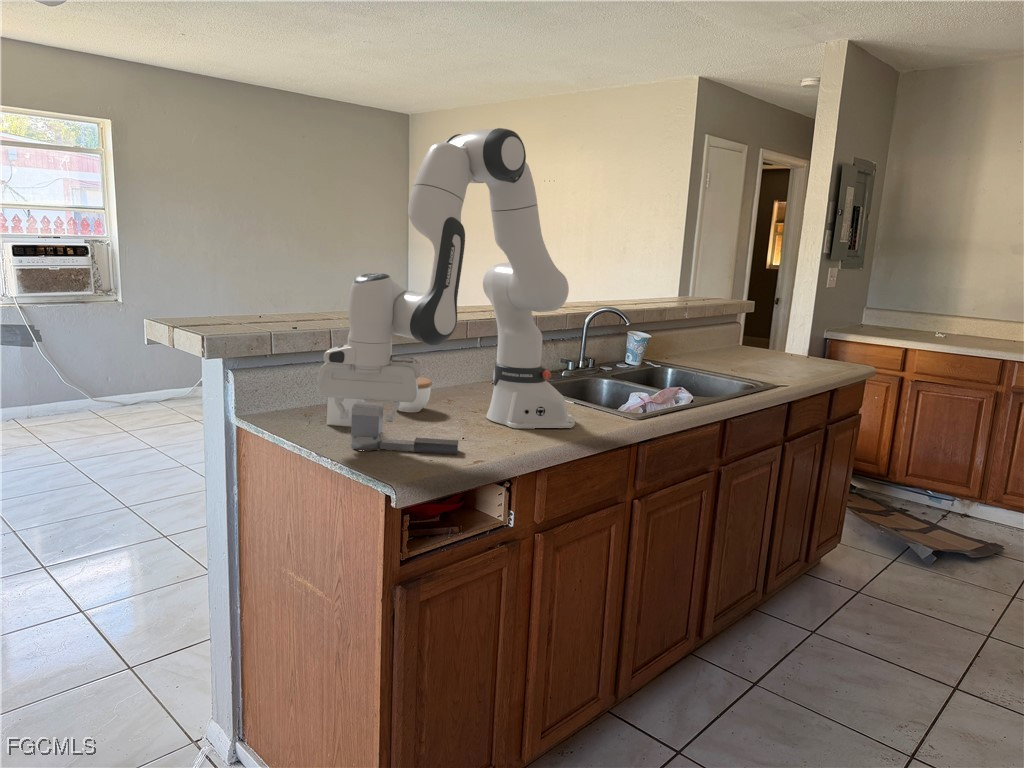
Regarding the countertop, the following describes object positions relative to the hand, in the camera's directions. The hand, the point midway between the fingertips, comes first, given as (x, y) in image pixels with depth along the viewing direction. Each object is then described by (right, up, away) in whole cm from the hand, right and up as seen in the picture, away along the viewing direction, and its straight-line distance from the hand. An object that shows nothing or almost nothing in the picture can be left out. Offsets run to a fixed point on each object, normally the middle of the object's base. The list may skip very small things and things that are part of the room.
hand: (367, 420), depth 142 cm
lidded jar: (+3, +1, +35) cm, 35 cm away
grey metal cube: (0, -3, +1) cm, 3 cm away
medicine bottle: (-9, -2, +18) cm, 21 cm away
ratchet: (+7, -6, +1) cm, 10 cm away
